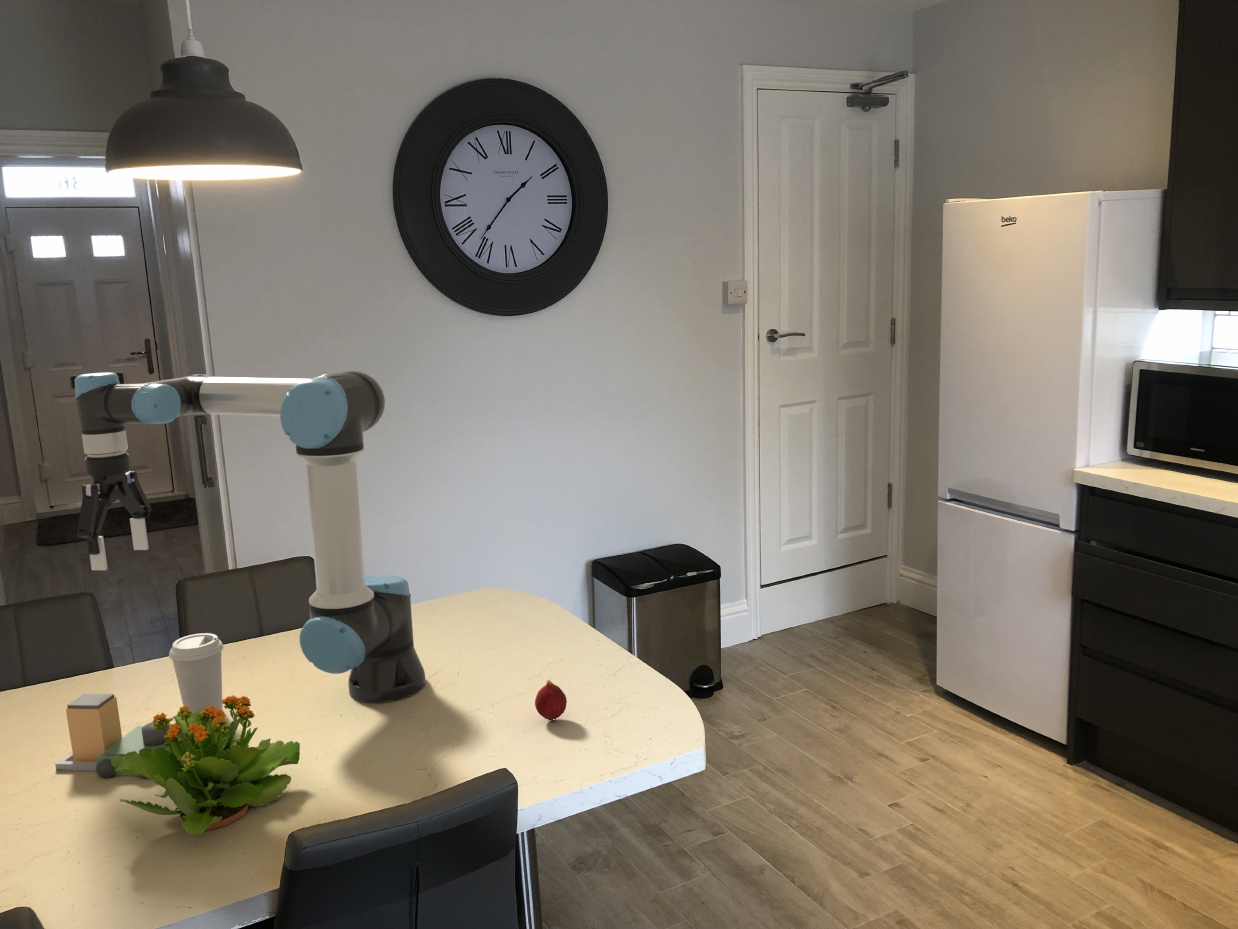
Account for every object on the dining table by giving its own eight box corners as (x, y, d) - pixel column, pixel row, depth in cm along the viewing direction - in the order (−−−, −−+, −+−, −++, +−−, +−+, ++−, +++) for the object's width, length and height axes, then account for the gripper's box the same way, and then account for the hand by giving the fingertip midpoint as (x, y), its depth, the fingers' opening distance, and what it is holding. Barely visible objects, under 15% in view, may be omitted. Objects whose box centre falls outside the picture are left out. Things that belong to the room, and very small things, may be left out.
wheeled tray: (199, 739, 173) (195, 708, 172) (156, 779, 160) (151, 746, 158) (98, 737, 175) (94, 707, 174) (47, 777, 161) (42, 744, 160)
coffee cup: (211, 727, 178) (202, 651, 175) (166, 724, 180) (156, 649, 177) (241, 704, 187) (232, 632, 184) (197, 702, 189) (188, 630, 186)
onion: (572, 716, 177) (571, 676, 176) (558, 730, 172) (556, 689, 171) (545, 711, 180) (543, 672, 178) (530, 725, 175) (528, 684, 173)
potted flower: (265, 859, 136) (252, 746, 133) (94, 872, 135) (77, 758, 131) (307, 770, 161) (297, 673, 157) (163, 780, 159) (150, 683, 156)
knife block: (123, 748, 170) (115, 693, 168) (106, 762, 165) (98, 706, 163) (92, 748, 170) (83, 693, 168) (74, 762, 166) (65, 705, 164)
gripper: (126, 442, 196) (140, 541, 200) (44, 466, 171) (61, 579, 176) (161, 441, 195) (174, 541, 199) (83, 466, 171) (99, 579, 175)
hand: (121, 559), depth 187 cm, fingers open, 13 cm apart
